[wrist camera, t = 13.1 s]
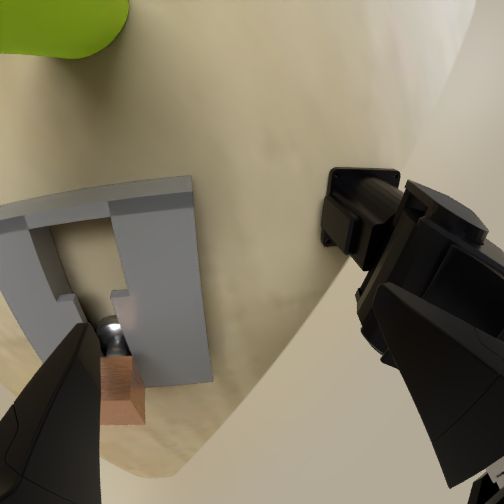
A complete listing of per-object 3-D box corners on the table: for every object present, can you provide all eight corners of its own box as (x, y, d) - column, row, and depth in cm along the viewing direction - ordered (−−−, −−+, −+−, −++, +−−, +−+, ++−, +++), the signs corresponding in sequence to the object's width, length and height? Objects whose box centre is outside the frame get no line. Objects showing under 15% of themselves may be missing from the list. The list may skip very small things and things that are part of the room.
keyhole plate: (-8, 207, 16) (-26, 225, 13) (190, 175, 19) (192, 191, 16) (66, 366, 26) (61, 388, 23) (209, 357, 29) (213, 381, 26)
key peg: (137, 313, 24) (132, 398, 17) (148, 346, 26) (148, 425, 19) (91, 316, 23) (75, 398, 16) (105, 348, 26) (98, 425, 19)
